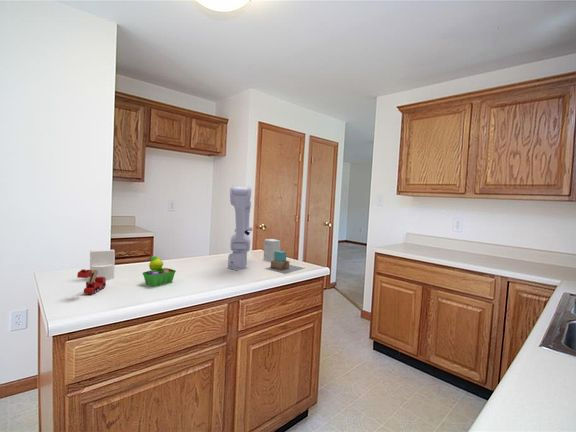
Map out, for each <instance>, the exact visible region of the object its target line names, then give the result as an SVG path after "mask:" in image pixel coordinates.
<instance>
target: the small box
mask: <svg viewBox="0 0 576 432" xmlns="http://www.w3.org/2000/svg"><path fill="white" fill-rule="evenodd" d="M275 251H281V240H278V239H275V238H268V239H267V238H266V239H264V243H263V260H264V261H266V262H270V263H271V261H272V260H274V253H275Z"/></svg>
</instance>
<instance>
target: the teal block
mask: <svg viewBox="0 0 576 432" xmlns="http://www.w3.org/2000/svg"><path fill="white" fill-rule="evenodd" d="M286 260H287V251H285V250H280V251H275V253H274V261H277V262H284V261H286Z"/></svg>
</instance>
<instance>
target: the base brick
mask: <svg viewBox="0 0 576 432" xmlns="http://www.w3.org/2000/svg"><path fill="white" fill-rule="evenodd" d="M289 265H290V260H287V259H286V261H284V262H277V261H274V260H272V261H271V262H270V267H271V268H272V269H276V270H280V271H282V270H285V269H289Z"/></svg>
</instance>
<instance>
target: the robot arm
mask: <svg viewBox="0 0 576 432" xmlns="http://www.w3.org/2000/svg"><path fill="white" fill-rule="evenodd" d="M251 197H252V188H251V187H250V186H233V185H231V186H230V190H229V199H230V205H231V206H233V207H234V212H235V229H234V234H232V235H231V237H230V238H231V239H230V250H231V251H232V252H231V253H229V255H228V260H227V267H226V269H227V270H231V271H235V272H238V270H241V269H242V270H243V269H246V268H247V264H248V263H247V261H248V252H249V251H250V250H251V238H250V232H253V227H250V216H251V215H250V213H251V207H252V201H251Z"/></svg>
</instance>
